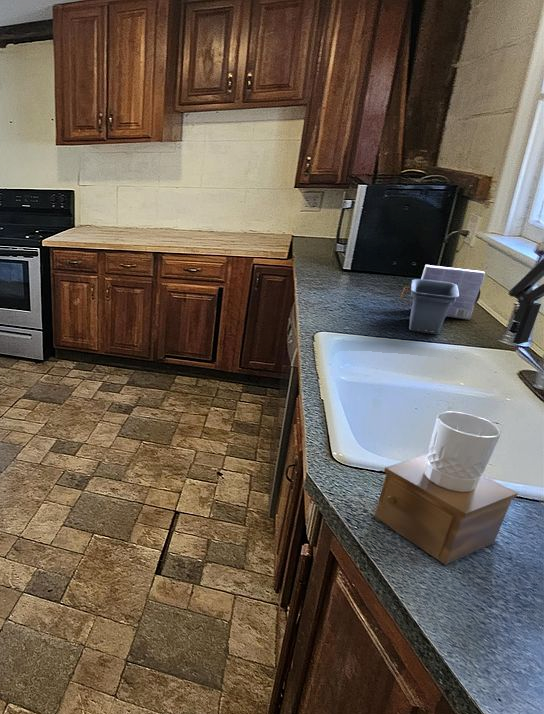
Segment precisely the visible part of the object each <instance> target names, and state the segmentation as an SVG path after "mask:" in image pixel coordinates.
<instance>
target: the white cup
mask: <svg viewBox="0 0 544 714" xmlns="http://www.w3.org/2000/svg"><path fill="white" fill-rule="evenodd" d="M501 435H502V430H501V429H500V427H499V426H498V425H496V424H495V423H493V422H491V421H489V420H487V419H485V418H482V417H480V416H477V415H474V414H470V413H465V412H459V411H443V412H440V413H438V414H437V416H436V419H435V423H434V427H433V431H432V435H431V438H430V442H429V447H428V452H427V454H428V456H427V458H428V459H427V463H426V467H425V475H426V477H427V478H428V479H429V480H430V481H432V482H433V483H435V484H437V485H438V486H441V487H444V488H446V489H449V490H453V491H459V492H470V491H472V490H474V489H475V488H476V486H477V484H478V482H479V479H480V477H481V475H483V474H484V472H485V470H486V468H487V466H488V464H489V462H490V460H491V457H492V455H493V453H494V451H495V448H496V446H497V444H498V442H499V440H500V438H501Z"/></svg>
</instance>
